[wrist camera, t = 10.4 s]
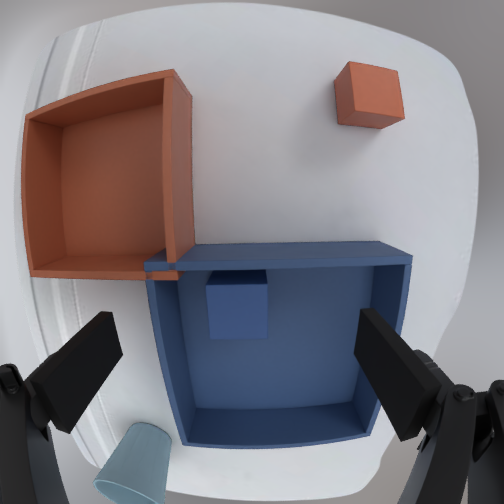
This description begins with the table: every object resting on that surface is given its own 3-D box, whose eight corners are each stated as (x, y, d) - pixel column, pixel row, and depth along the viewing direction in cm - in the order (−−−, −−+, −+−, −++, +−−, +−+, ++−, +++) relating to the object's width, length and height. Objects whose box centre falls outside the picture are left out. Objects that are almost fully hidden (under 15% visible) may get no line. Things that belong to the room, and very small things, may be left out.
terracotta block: (333, 80, 18) (348, 60, 14) (377, 87, 18) (397, 70, 14) (337, 124, 19) (354, 111, 15) (382, 129, 19) (405, 119, 15)
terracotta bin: (62, 124, 19) (25, 114, 14) (192, 96, 19) (174, 68, 13) (66, 261, 22) (30, 277, 16) (196, 259, 22) (178, 280, 16)
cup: (127, 445, 27) (104, 500, 17) (117, 409, 25) (83, 471, 15) (181, 458, 27) (166, 519, 17) (177, 424, 26) (157, 496, 15)
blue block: (213, 268, 21) (204, 284, 17) (265, 267, 21) (268, 284, 17) (216, 315, 22) (209, 339, 18) (266, 314, 22) (268, 339, 18)
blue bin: (168, 245, 21) (142, 261, 16) (379, 241, 21) (413, 255, 16) (192, 408, 25) (182, 445, 19) (354, 400, 25) (370, 436, 19)
